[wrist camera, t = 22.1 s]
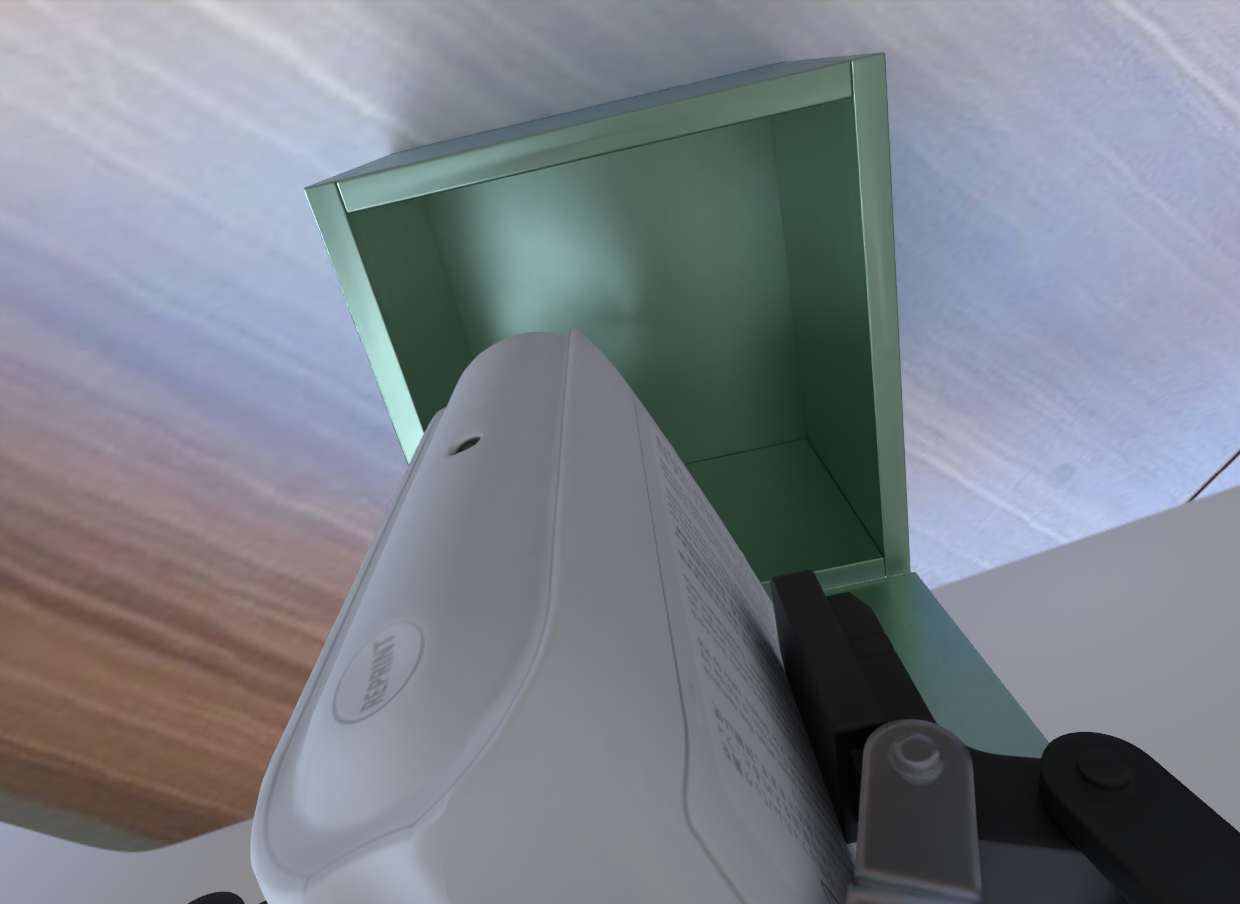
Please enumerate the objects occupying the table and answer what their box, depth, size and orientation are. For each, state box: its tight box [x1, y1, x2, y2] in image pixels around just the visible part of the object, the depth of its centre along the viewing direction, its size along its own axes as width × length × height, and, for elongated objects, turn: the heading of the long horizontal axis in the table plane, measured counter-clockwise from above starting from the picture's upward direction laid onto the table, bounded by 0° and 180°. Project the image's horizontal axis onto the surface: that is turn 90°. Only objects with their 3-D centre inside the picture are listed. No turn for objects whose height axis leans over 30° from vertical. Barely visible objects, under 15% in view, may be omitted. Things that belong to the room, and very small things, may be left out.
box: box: [304, 52, 910, 601], centre depth 29 cm, size 17×16×11 cm
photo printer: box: [250, 328, 857, 904], centre depth 12 cm, size 10×4×12 cm, turn 32°
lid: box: [771, 572, 1049, 758], centre depth 20 cm, size 18×16×6 cm
